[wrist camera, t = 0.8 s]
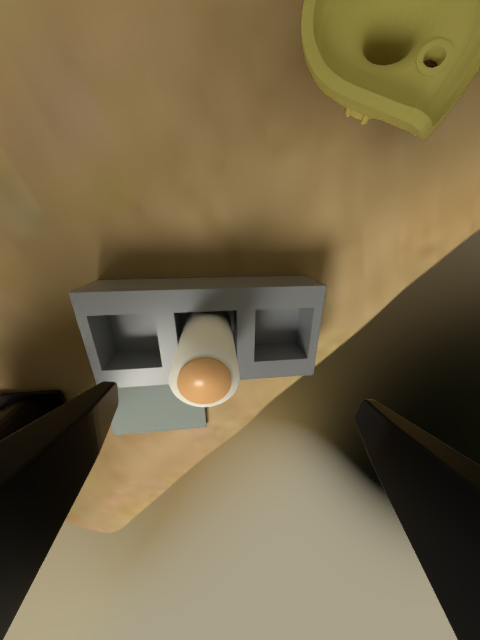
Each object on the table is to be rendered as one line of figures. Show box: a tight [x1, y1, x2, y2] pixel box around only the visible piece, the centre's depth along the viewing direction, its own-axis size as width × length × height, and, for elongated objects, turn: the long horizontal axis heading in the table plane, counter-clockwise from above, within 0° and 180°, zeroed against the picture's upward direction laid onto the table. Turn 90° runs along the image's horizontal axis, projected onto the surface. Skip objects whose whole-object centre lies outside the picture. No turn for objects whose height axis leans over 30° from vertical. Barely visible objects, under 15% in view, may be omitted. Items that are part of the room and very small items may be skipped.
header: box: [69, 275, 326, 388], centre depth 19 cm, size 18×8×4 cm, turn 90°
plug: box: [168, 311, 240, 407], centre depth 16 cm, size 4×4×8 cm
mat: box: [111, 384, 206, 435], centre depth 24 cm, size 10×8×1 cm
